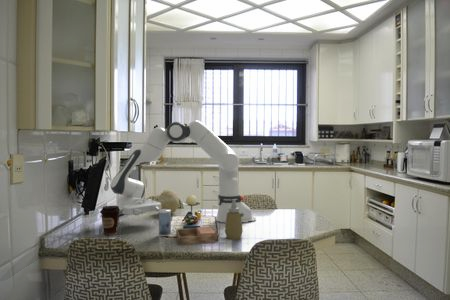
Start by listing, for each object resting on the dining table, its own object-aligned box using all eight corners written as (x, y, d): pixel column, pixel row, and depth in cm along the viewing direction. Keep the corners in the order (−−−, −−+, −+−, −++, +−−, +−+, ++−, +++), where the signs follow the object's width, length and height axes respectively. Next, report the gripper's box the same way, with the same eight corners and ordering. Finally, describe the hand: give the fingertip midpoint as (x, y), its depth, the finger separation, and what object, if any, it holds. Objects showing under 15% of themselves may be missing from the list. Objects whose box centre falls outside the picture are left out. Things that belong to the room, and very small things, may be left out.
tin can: (170, 233, 150) (170, 208, 149) (171, 236, 144) (171, 211, 144) (158, 234, 148) (158, 209, 148) (159, 237, 143) (159, 211, 143)
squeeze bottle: (224, 236, 145) (224, 198, 145) (241, 236, 146) (241, 198, 145) (225, 242, 137) (225, 201, 137) (243, 242, 138) (244, 201, 137)
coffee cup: (113, 236, 144) (113, 208, 143) (97, 235, 145) (97, 208, 145) (123, 231, 152) (123, 205, 152) (107, 230, 154) (107, 204, 153)
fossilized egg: (157, 216, 182) (157, 191, 181) (157, 212, 194) (157, 188, 193) (179, 215, 185) (179, 190, 184) (177, 211, 197) (177, 187, 196)
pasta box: (210, 233, 147) (210, 226, 147) (215, 240, 137) (215, 232, 137) (196, 234, 145) (196, 227, 145) (200, 241, 136) (200, 233, 136)
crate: (212, 234, 149) (212, 227, 149) (218, 243, 136) (218, 235, 136) (176, 236, 144) (176, 229, 144) (179, 246, 132) (179, 237, 132)
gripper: (117, 202, 157) (131, 207, 147) (152, 198, 172) (167, 202, 162) (117, 215, 157) (130, 220, 148) (152, 209, 172) (167, 214, 162)
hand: (150, 210), depth 155 cm, fingers open, 8 cm apart
